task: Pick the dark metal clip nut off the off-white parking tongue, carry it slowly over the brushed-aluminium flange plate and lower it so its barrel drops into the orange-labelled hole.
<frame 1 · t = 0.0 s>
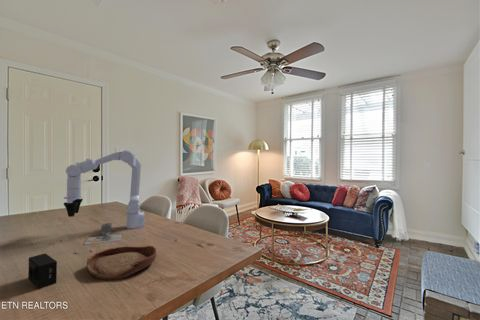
hand: (73, 214, 113), 10 cm above the table, tool pointing down, fingers open, 7 cm apart
parking tongue: (106, 236, 111), on the table
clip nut: (106, 234, 111), point 1 cm above the table, touching parking tongue
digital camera: (39, 282, 70), on the table
basket: (123, 267, 81), on the table
flange plate: (104, 241, 104), on the table
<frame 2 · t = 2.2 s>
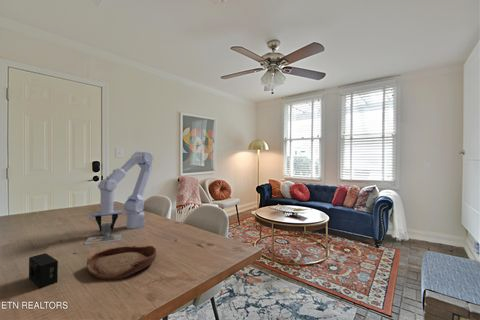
hand: (106, 230, 111), 3 cm above the table, tool pointing down, fingers closed on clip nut, 4 cm apart
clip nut: (106, 234, 111), point 1 cm above the table, touching gripper, parking tongue
everything else where it was.
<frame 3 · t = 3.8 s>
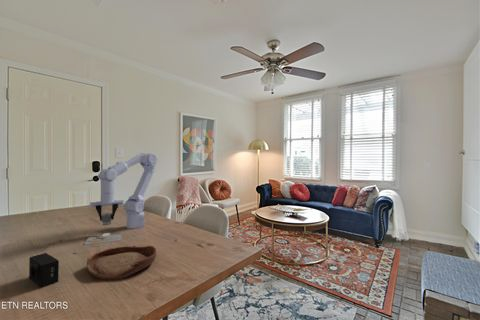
hand: (106, 219, 111), 8 cm above the table, tool pointing down, fingers closed on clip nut, 4 cm apart
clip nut: (106, 224, 111), point 6 cm above the table, touching gripper
everything else where it was.
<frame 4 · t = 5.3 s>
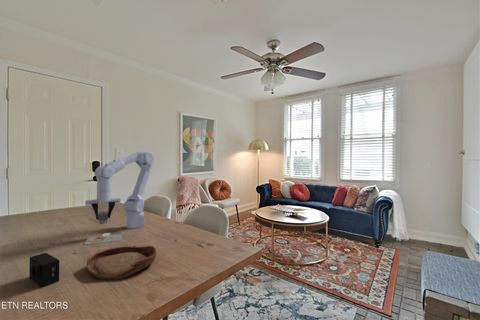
hand: (103, 218, 108), 10 cm above the table, tool pointing down, fingers closed on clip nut, 4 cm apart
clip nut: (103, 222, 108), point 8 cm above the table, touching gripper
everything else where it was.
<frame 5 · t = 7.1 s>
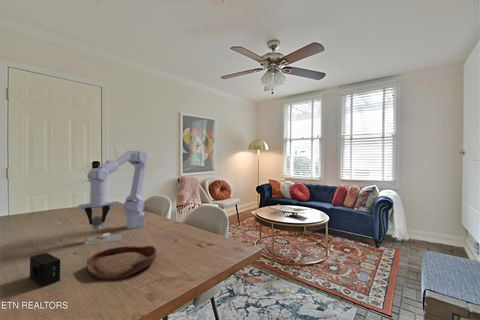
hand: (97, 223, 103), 9 cm above the table, tool pointing down, fingers closed on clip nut, 4 cm apart
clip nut: (96, 227, 103), point 7 cm above the table, touching gripper
everything else where it was.
when the fingers open (4 cm above the table, at t = 8.6 s): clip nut drops 2 cm, resting in flange plate.
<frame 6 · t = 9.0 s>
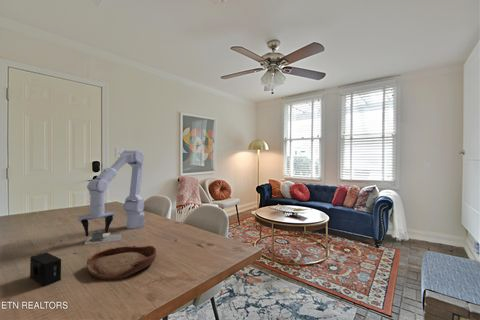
hand: (96, 234, 103), 4 cm above the table, tool pointing down, fingers open, 7 cm apart
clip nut: (96, 242, 103), resting in flange plate
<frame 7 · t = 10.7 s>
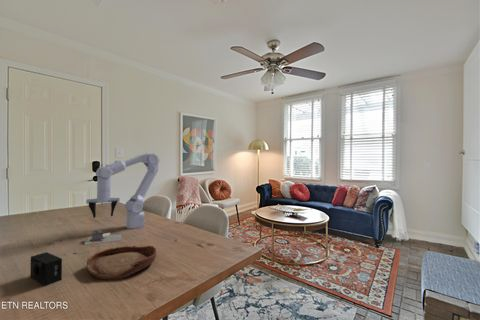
hand: (103, 216, 114), 9 cm above the table, tool pointing down, fingers open, 7 cm apart
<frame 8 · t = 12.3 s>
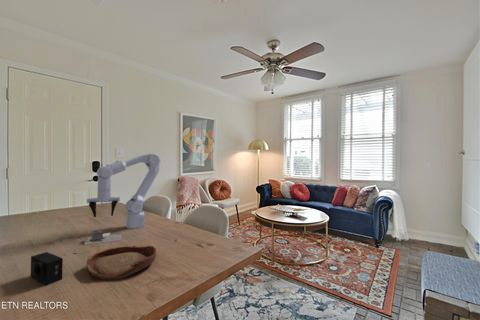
hand: (103, 216, 115), 9 cm above the table, tool pointing down, fingers open, 7 cm apart
at the end: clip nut 0.0 cm from the target spot on the flange plate, point 0.0 cm above the flange plate's base; the gripper is holding nothing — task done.
